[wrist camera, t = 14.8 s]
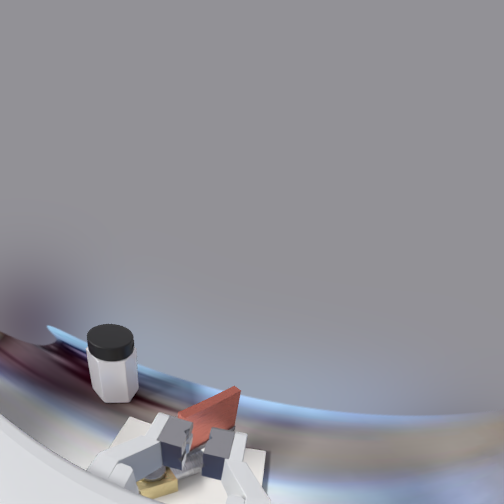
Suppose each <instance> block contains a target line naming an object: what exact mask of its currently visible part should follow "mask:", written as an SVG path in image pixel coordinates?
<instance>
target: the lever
mask: <svg viewBox="0 0 504 504" xmlns="http://www.w3.org/2000/svg"><path fill="white" fill-rule="evenodd" d="M240 392H241V390H239V389H238V388H237V387H235V386H233V387H231V388H229V389H227V390H225V391H223V392H221V393H219V394H217V395H215V396H213V397H211V398H208V399H206V400H204V401H202V402H200V403H198V404H196V405H193V406H191V407H189V408H187V409H184V410H182V411H180V412H178V418H180V419H183V420H186V421H190V422H193V430H192V434H193V440H192V444H191V448H190V451H189V453H187V454H186V457H188V456H190V455H192V454H194V453H196V452H198V451H200V450H201V449H203V448H205V446H206V443H207V441H208V440H209V434H210V431H211V428H212V427H215V428H220V429H225V430H230V431H234V430H235V420H236V414H237V409H238V403H239V398H240ZM166 467H167V466H164V465H163V466H162V467H161V468H159V469H157V470H156V471H154V472H152V473H151V474H149V475H147V476H146V477H144V478H142V480H144V481H148V482H155V481H159V480H161V479H162V478H163V477H164V476H165V474H166Z"/></svg>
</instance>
